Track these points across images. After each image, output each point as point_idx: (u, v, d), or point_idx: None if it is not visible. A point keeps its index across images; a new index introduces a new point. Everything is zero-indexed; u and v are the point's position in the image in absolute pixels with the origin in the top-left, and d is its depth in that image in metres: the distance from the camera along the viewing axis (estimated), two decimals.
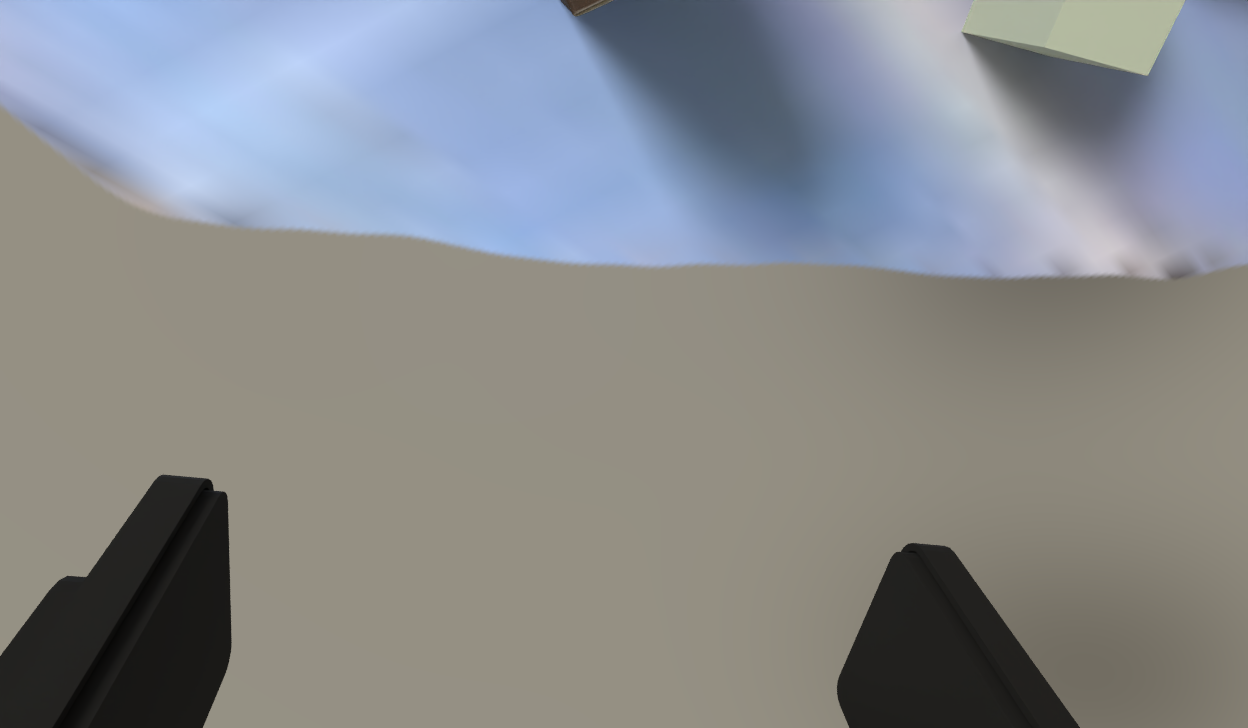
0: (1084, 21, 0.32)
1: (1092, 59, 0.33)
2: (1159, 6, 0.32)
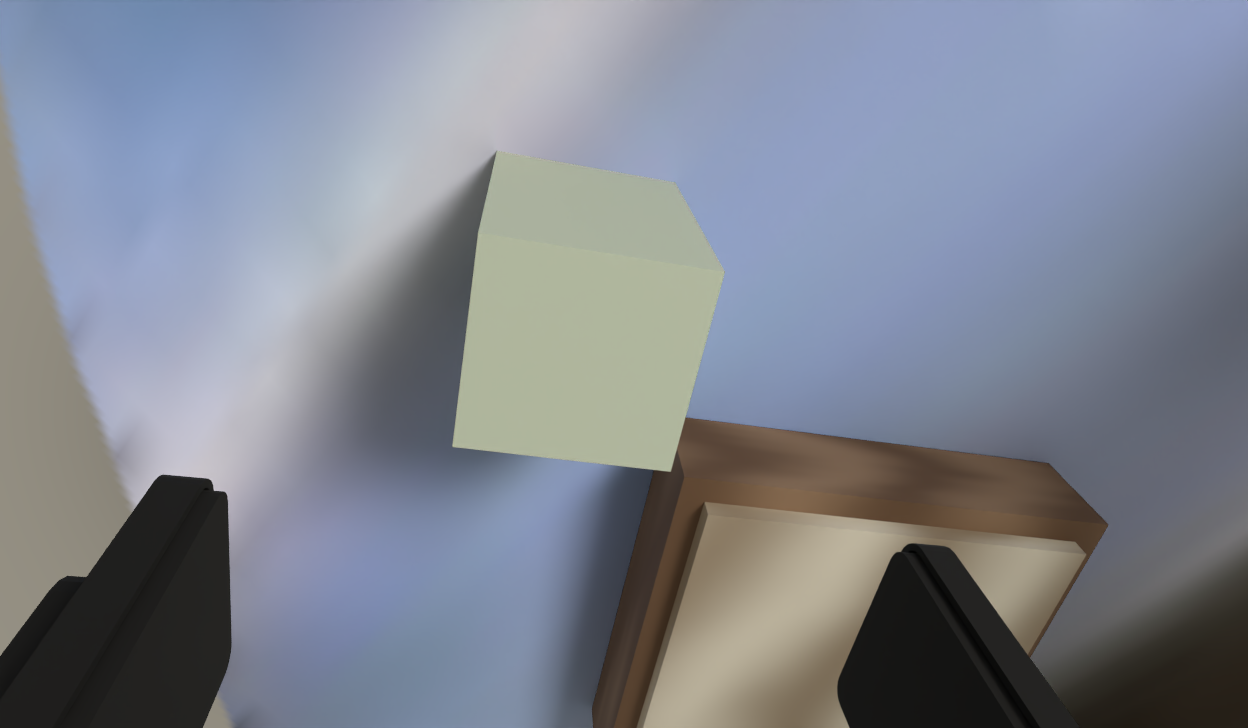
0: (533, 297, 0.16)
1: (467, 337, 0.16)
2: (570, 423, 0.18)
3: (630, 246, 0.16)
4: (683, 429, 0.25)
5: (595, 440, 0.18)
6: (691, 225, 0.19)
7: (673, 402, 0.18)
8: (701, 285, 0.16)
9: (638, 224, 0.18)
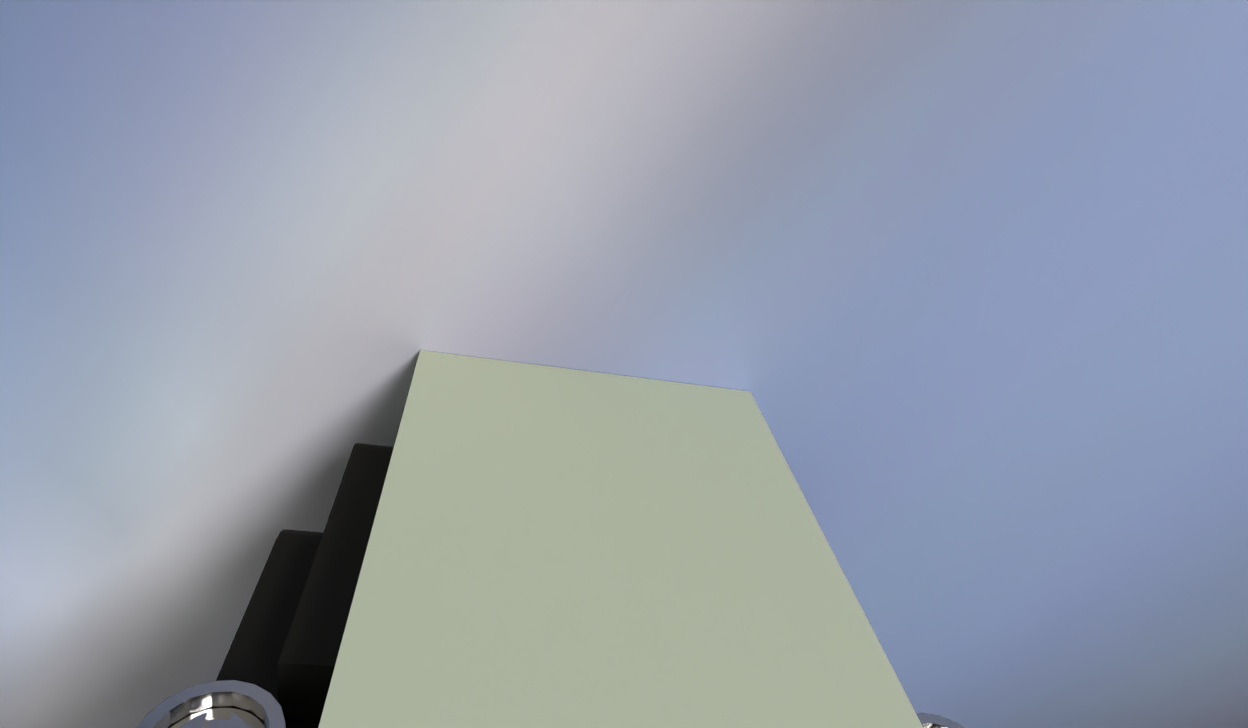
0: None
1: None
2: None
3: None
4: None
5: None
6: (824, 568, 0.09)
7: None
8: None
9: (718, 603, 0.08)
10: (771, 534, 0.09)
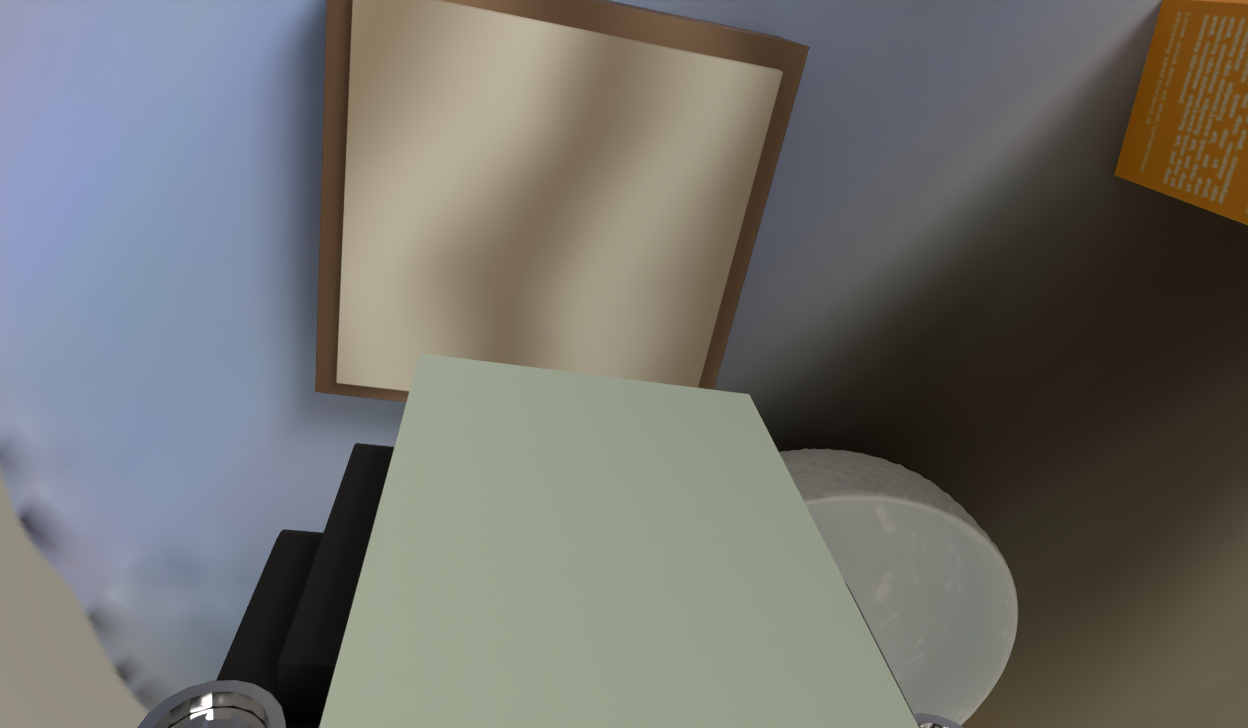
0: None
1: None
2: None
3: None
4: None
5: None
6: (823, 571, 0.09)
7: None
8: None
9: (716, 605, 0.08)
10: (769, 537, 0.09)
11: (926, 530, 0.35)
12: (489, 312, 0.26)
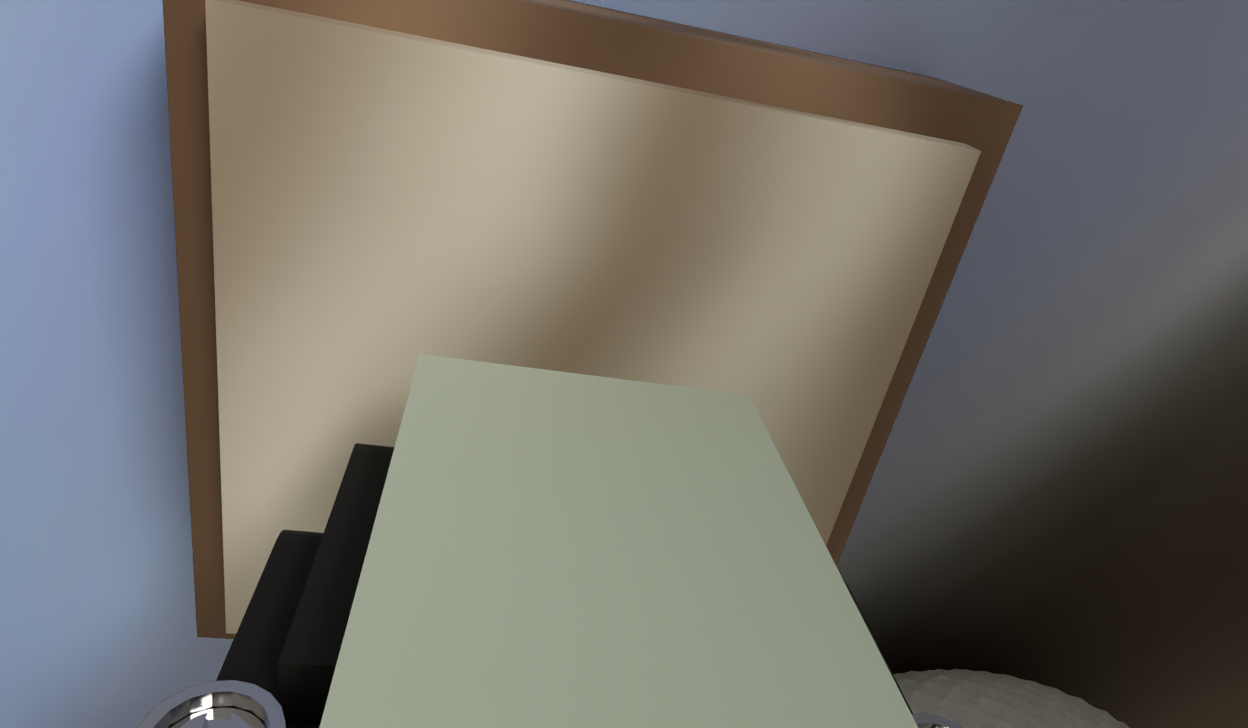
0: None
1: None
2: None
3: None
4: None
5: None
6: (822, 572, 0.09)
7: None
8: None
9: (716, 607, 0.08)
10: (769, 538, 0.09)
11: None
12: None
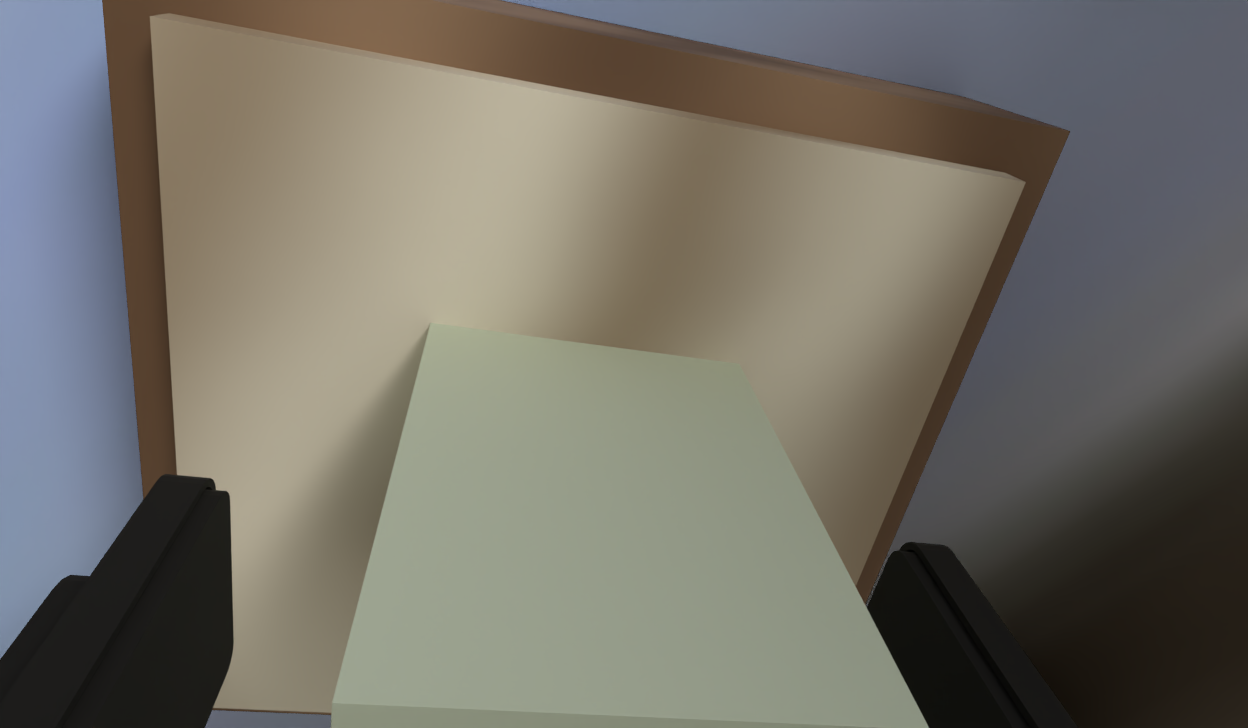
0: None
1: None
2: None
3: (705, 654, 0.07)
4: None
5: None
6: (803, 515, 0.10)
7: None
8: None
9: (705, 540, 0.09)
10: (755, 486, 0.10)
11: None
12: None
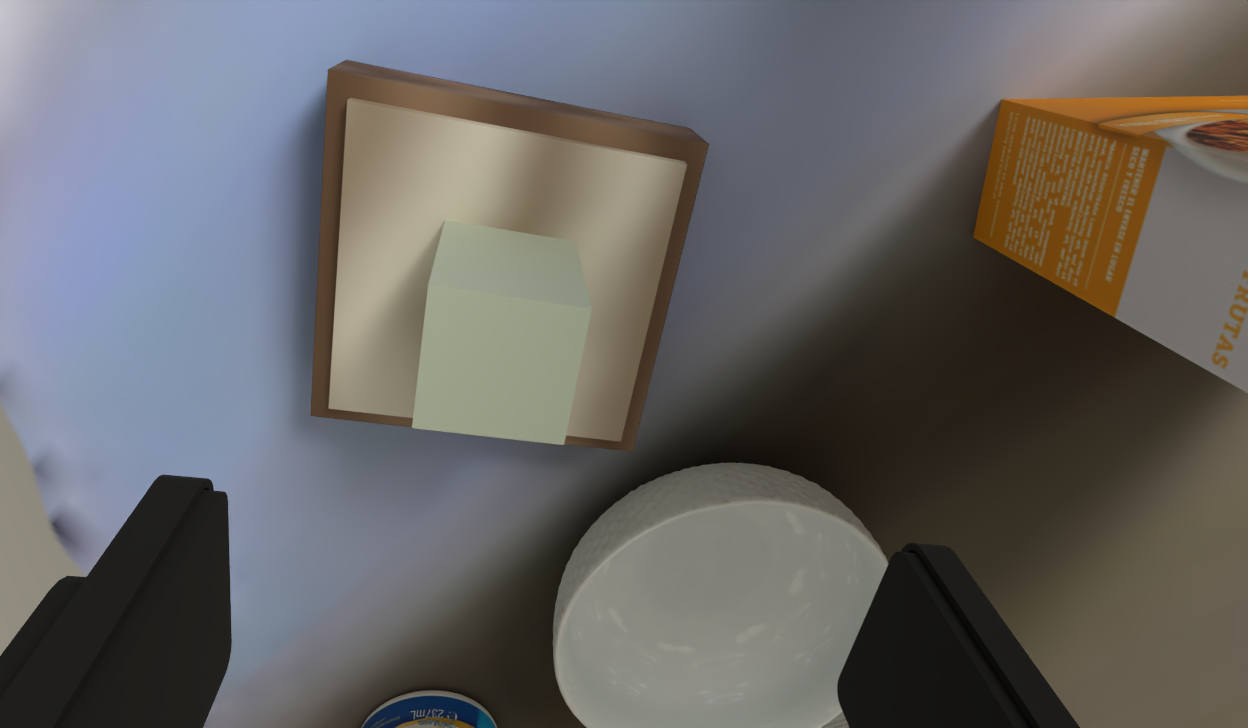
0: (465, 326, 0.24)
1: (421, 352, 0.25)
2: (493, 411, 0.26)
3: (530, 291, 0.25)
4: (352, 64, 0.30)
5: (510, 423, 0.26)
6: (578, 275, 0.27)
7: (563, 396, 0.26)
8: (577, 317, 0.25)
9: (539, 276, 0.26)
10: (563, 268, 0.28)
11: (828, 532, 0.41)
12: None
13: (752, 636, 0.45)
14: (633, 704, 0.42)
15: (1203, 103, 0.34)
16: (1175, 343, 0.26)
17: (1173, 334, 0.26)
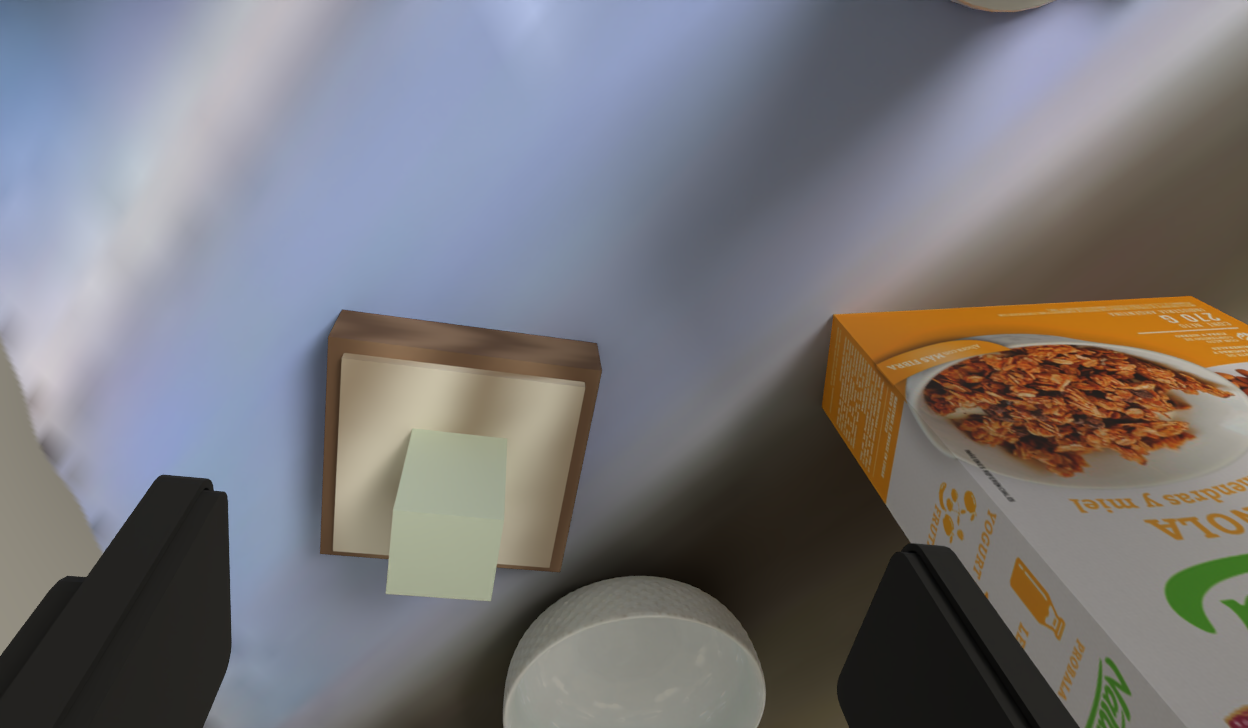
0: (419, 533, 0.37)
1: (390, 549, 0.37)
2: (440, 582, 0.38)
3: (463, 506, 0.37)
4: (346, 316, 0.42)
5: (453, 589, 0.38)
6: (501, 481, 0.39)
7: (488, 572, 0.38)
8: (494, 525, 0.37)
9: (472, 487, 0.38)
10: (492, 475, 0.40)
11: None
12: None
13: (667, 697, 0.57)
14: None
15: (982, 321, 0.45)
16: (910, 536, 0.38)
17: (909, 530, 0.38)
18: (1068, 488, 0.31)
